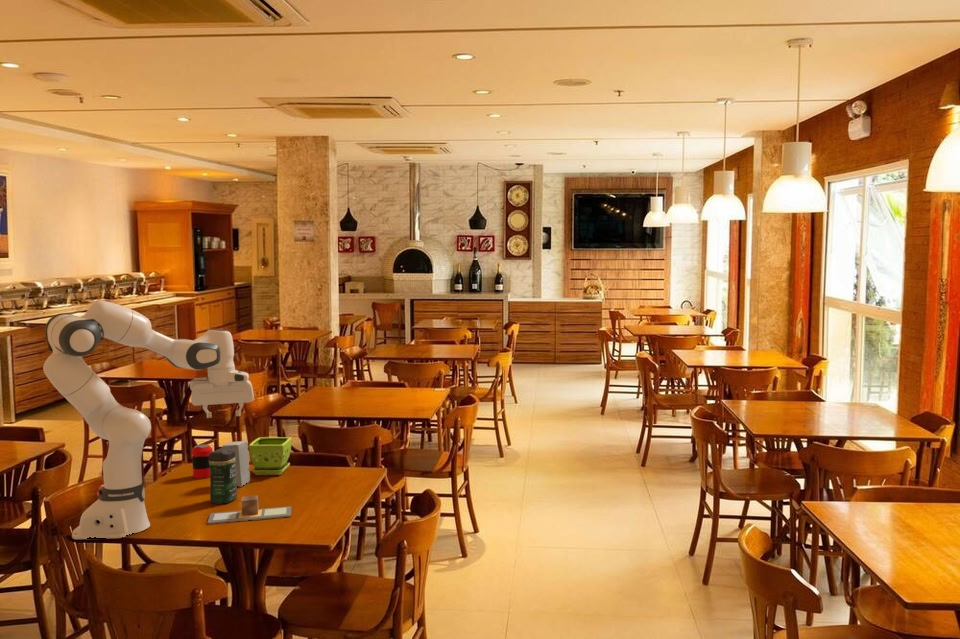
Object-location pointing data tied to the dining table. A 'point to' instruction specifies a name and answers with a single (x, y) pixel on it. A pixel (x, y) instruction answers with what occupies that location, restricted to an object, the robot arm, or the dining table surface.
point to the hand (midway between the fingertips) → (223, 416)
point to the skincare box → (241, 462)
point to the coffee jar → (222, 475)
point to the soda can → (201, 461)
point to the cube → (249, 505)
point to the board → (237, 515)
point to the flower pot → (270, 455)
